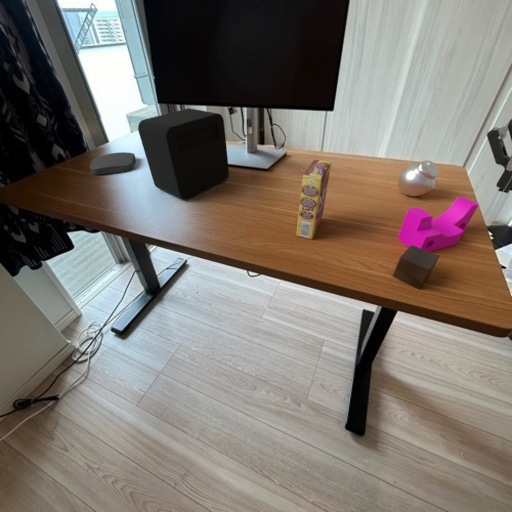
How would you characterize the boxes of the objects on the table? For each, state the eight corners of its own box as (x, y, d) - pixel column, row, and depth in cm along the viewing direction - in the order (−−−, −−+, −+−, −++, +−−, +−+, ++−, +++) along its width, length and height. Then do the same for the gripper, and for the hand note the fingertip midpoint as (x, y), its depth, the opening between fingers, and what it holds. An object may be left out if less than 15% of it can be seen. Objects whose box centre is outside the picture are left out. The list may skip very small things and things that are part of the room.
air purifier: (201, 168, 96) (190, 106, 83) (230, 178, 89) (223, 111, 76) (153, 189, 85) (131, 120, 72) (181, 203, 77) (164, 129, 64)
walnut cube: (429, 275, 52) (439, 256, 49) (419, 289, 49) (429, 269, 46) (403, 263, 55) (411, 244, 51) (392, 276, 52) (400, 256, 49)
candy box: (313, 240, 62) (322, 177, 52) (295, 236, 63) (300, 174, 53) (323, 221, 68) (332, 161, 58) (306, 217, 69) (312, 158, 59)
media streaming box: (133, 171, 96) (130, 163, 94) (90, 176, 94) (86, 168, 92) (137, 157, 107) (135, 149, 105) (98, 161, 105) (95, 154, 103)
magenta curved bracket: (418, 254, 57) (431, 225, 52) (397, 238, 61) (408, 209, 56) (472, 239, 60) (490, 210, 55) (449, 224, 64) (463, 196, 60)
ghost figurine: (409, 205, 72) (423, 169, 66) (387, 190, 79) (397, 156, 73) (437, 199, 74) (454, 164, 67) (413, 185, 81) (426, 151, 74)
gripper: (510, 74, 38) (455, 186, 50) (650, 81, 31) (549, 211, 42) (520, 68, 42) (467, 174, 54) (647, 74, 35) (555, 194, 46)
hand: (503, 190), depth 48 cm, fingers closed
